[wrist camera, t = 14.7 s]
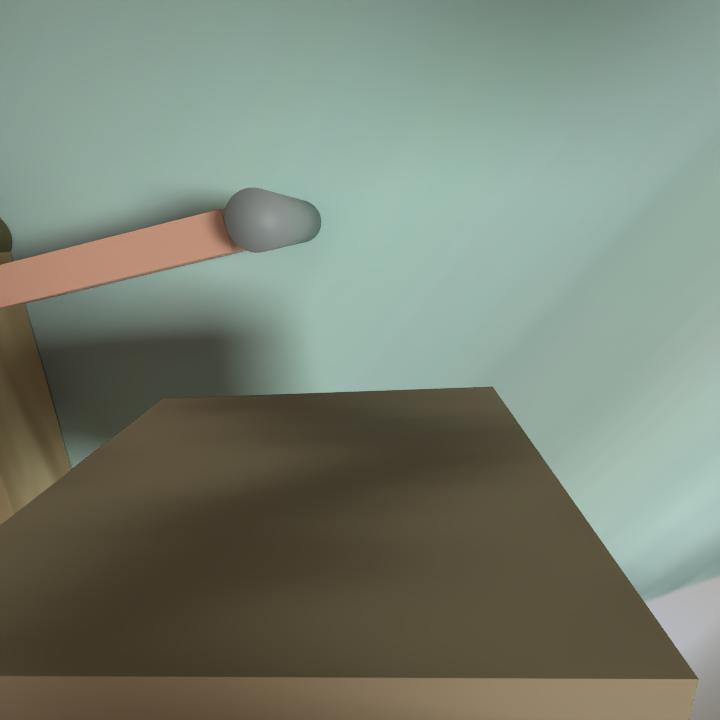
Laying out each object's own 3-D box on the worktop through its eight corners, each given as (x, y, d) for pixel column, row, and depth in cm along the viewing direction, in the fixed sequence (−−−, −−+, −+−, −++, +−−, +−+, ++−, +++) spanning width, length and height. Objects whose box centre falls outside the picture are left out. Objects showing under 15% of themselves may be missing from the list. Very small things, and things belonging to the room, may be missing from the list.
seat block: (492, 386, 9) (724, 716, 3) (483, 645, 11) (608, 1154, 5) (162, 399, 9) (-233, 706, 3) (213, 646, 11) (23, 1115, 5)
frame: (324, 193, 17) (293, 179, 11) (346, 522, 22) (331, 629, 16) (-41, 212, 18) (-237, 208, 12) (54, 522, 23) (-57, 621, 17)
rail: (315, 196, 17) (275, 180, 11) (325, 237, 17) (292, 244, 11) (37, 265, 18) (-134, 286, 12) (53, 301, 19) (-105, 339, 13)
